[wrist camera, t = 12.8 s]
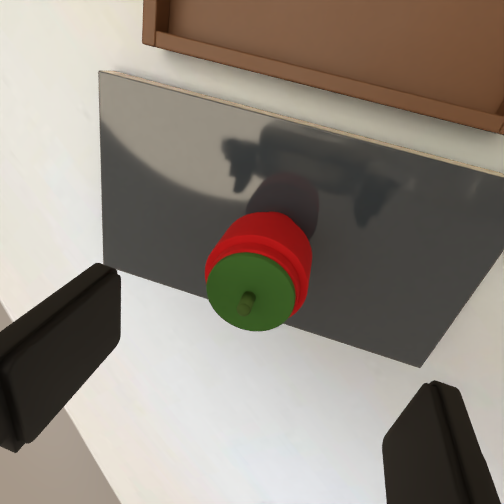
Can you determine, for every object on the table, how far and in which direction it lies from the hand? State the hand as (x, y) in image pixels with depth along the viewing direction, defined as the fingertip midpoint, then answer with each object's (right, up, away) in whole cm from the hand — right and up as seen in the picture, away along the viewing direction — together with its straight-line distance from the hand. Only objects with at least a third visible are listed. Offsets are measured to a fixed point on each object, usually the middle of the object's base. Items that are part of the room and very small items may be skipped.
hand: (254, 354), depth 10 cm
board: (+1, +5, +8) cm, 9 cm away
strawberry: (+1, +4, +7) cm, 8 cm away
